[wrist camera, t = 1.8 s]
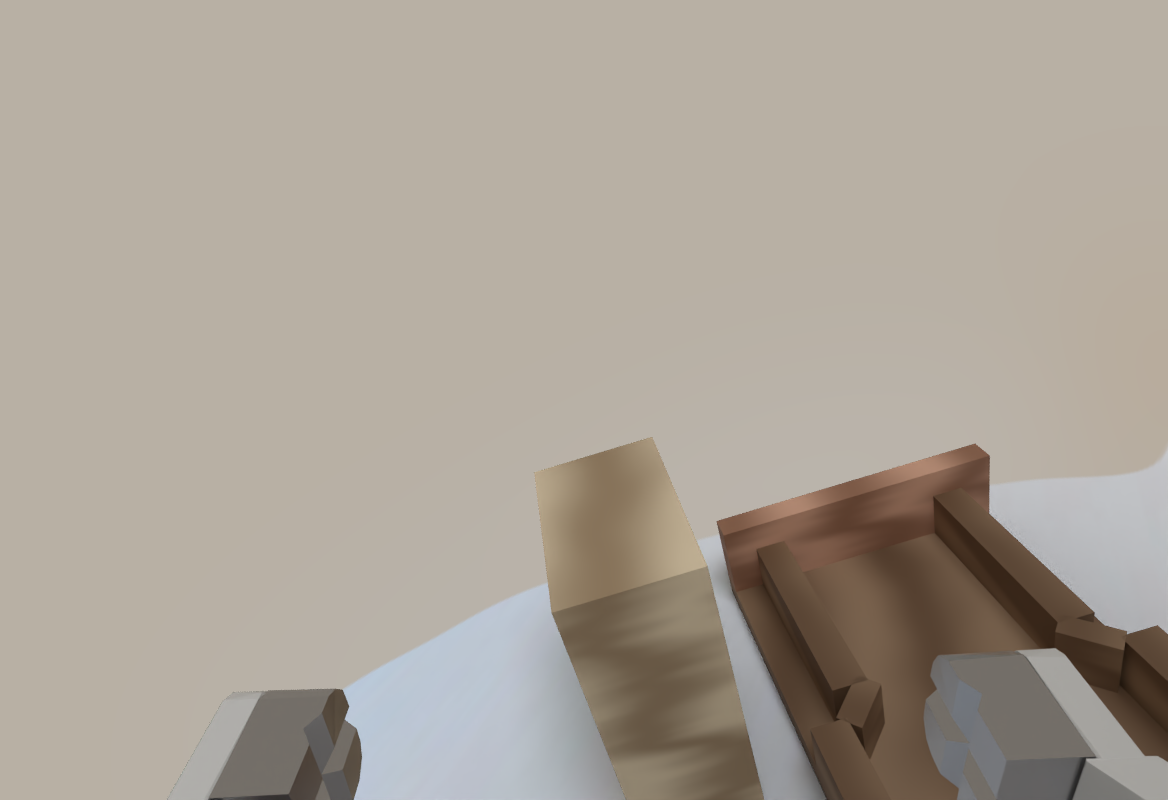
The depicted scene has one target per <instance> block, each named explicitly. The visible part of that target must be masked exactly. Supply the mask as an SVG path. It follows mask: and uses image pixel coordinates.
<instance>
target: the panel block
mask: <svg viewBox="0 0 1168 800" xmlns="http://www.w3.org/2000/svg"><path fill="white" fill-rule="evenodd" d="M535 482H536V490H537V498H538V506H539V514H540V522H541V530H542V538H543V546H544V554H545V562H546V571H547V579H548V587H549V595H550V603H551V611H552V615H553V617H554V620H555V622H556V625H557V627H558V630H559V632H560V635H561V637H562V640H563V642H564V645H565V647H566V650H567V652H568V655H569V657H570V660H571V662H572V665H573V667H574V670H575V672H576V675H577V677H578V680H579V682H580V685H581V687H582V690H583V693H584V695H585V698H586V700H587V703H588V705H589V708H590V710H591V713H592V715H593V718H594V720H595V723H596V725H597V728H598V730H599V733H600V735H601V738H602V740H603V743H604V745H605V748H606V750H607V753H608V755H609V758H610V760H611V763H612V765H613V768H614V770H615V773H616V775H617V778H618V780H619V783H620V785H621V788H622V790H623V793H624V795H625V798H626V800H764V797H763V793H762V789H761V785H760V781H759V777H758V773H757V769H756V764H755V760H754V756H753V752H752V748H751V744H750V740H749V736H748V731H747V727H746V723H745V719H744V715H743V711H742V707H741V703H740V699H739V694H738V690H737V686H736V682H735V678H734V674H733V670H732V666H731V661H730V657H729V653H728V649H727V645H726V641H725V637H724V633H723V629H722V624H721V620H720V616H719V612H718V608H717V604H716V600H715V596H714V591H713V587H712V583H711V579H710V575H709V571H708V567H707V564H706V562H705V560H704V557H703V555H702V553H701V550H700V548H699V546H698V543H697V541H696V539H695V537H694V534H693V532H692V529H691V527H690V525H689V522H688V520H687V518H686V515H685V513H684V510H683V508H682V506H681V503H680V501H679V499H678V496H677V494H676V492H675V489H674V487H673V485H672V482H671V480H670V478H669V476H668V473H667V471H666V469H665V466H664V464H663V462H662V459H661V457H660V455H659V452H658V450H657V448H656V445H655V443H654V441H653V438H652V437H650V438H647V439H644V440H640V441H637V442H634V443H631V444H627V445H624V446H620V447H617V448H614V449H611V450H607V451H604V452H601V453H597V454H594V455H591V456H587V457H584V458H581V459H577V460H574V461H571V462H567V463H564V464H561V465H557V466H554V467H551V468H548V469H544V470H541V471H538V472H535Z"/></svg>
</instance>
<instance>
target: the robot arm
mask: <svg viewBox="0 0 1168 800" xmlns="http://www.w3.org/2000/svg"><path fill="white" fill-rule="evenodd" d="M930 676H931V678H932V680H933V682H934V684H935V686H936V688H937V690H936V691H935V692H933V693H932V694H931V695H930V696H929V697H928V698H927V699H926V702H925V710H924V717H923V718H924V725H925V733H926V739H927V742H928V746H929V749H930V752H931V755H932V757H933V759H934V762H935V764H936V766H937V768H938V770H939V772H940V774H941V775H943V776H944V777H945V778H946V779H948V780H949V781H950V782H952V783H953V784H954V785H955V786H957V787H958V788H959V792H958V797H957V800H1168V762H1167V761H1165V760H1164V759H1162V758H1160V757H1159V756H1144V754H1143V753H1142V752H1141V751H1140V749H1139V748H1138V747H1137V745H1136V744H1135V743H1134V742H1133V740H1132V739H1131V738H1130V737H1129V735H1128V734H1127V733H1126V732H1125V730H1124V729H1123V728H1122V726H1121V725H1120V724H1119V723H1118V721H1117V720H1116V719H1115V718H1114V716H1113V715H1112V714H1111V712H1110V711H1109V710H1108V709H1107V707H1106V706H1105V705H1104V704H1103V702H1102V701H1101V700H1100V699H1099V697H1098V696H1097V695H1096V693H1095V692H1094V691H1093V690H1092V688H1091V687H1090V686H1089V685H1088V683H1087V682H1086V681H1085V679H1084V678H1083V677H1082V676H1081V674H1080V673H1079V672H1078V671H1077V669H1076V668H1075V667H1074V666H1073V664H1072V663H1071V662H1070V660H1069V659H1068V658H1067V657H1066V655H1065V654H1063V653H1062V652H1060V651H1059V650H1057V649H1056V648H1051V649H1034V650H1017V651H1014V652H1013V651H995V652H980V653H965V654H950V655H938V656H937V658H936V659H935V660H934V661H933V664H932V669H931V674H930ZM348 708H349V705H348V702H347V700H346V697H345V695H344V692H343V690H340V689H313V690H312V689H310V690H274V691H256V692H233V693H232V694H231V695H229V696H228V697H227V698H226V699H225V700H224V701H223V702H222V703H221V705H220V707H219V708H218V710H217V712H216V714H215V715H214V717H213V719H212V721H211V723H210V724H209V726H208V728H207V730H206V731H205V733H204V735H203V737H202V738H201V740H200V742H199V744H198V745H197V747H196V749H195V751H194V753H193V754H192V756H191V758H190V760H189V762H188V763H187V765H186V767H185V768H184V771H183V772H182V774H181V775H180V777H179V779H178V781H177V783H176V784H175V786H174V788H173V790H172V791H171V793H170V795H169V797H168V798H167V800H354V796H355V793H356V790H357V786H358V783H359V779H360V770H361V760H362V754H361V743H360V739H359V735H358V732H357V729H356V728H355V727H354V726H352V725H351V724H350V723H348V722H347V721H345V720H344V719H345V716H346V714H347V711H348Z"/></svg>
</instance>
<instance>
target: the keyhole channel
mask: <svg viewBox="0 0 1168 800" xmlns="http://www.w3.org/2000/svg"><path fill="white" fill-rule="evenodd" d="M989 464H990V456H989V455H988V454H987V453H986V452H984V451H983V450H982V449H981V448H980V447H978V446H977V445H976V444H972V445H969V446H966V447H962V448H959V449H956V450H953V451H949V452H946V453H942V454H939V455H936V456H932V457H929V458H926V459H922V460H919V461H916V462H912V463H909V464H906V465H903V466H899V467H896V468H892V469H889V470H886V471H882V472H879V473H876V474H873V475H869V476H866V477H863V478H859V479H856V480H852V481H849V482H846V483H842V484H839V485H836V486H832V487H829V488H826V489H822V490H819V491H816V492H813V493H809V494H806V495H802V496H799V497H796V498H792V499H789V500H786V501H782V502H780V503H776V504H772V505H769V506H766V507H763V508H759V509H756V510H753V511H749V512H746V513H742V514H739V515H736V516H732V517H729V518H726V519H723V520H719V521H717V525H718V529H719V534H720V539H721V543H722V547H723V552H724V556H725V561H726V565H727V570H728V574H729V579H730V583H731V587H732V591H733V593H734V595H735V598H736V600H737V602H738V604H739V606H740V609H741V611H742V613H743V615H744V617H745V620H746V622H747V624H748V626H749V628H750V631H751V633H752V635H753V637H754V639H755V642H756V644H757V646H758V648H759V650H760V653H761V655H762V657H763V659H764V661H765V664H766V666H767V668H768V670H769V672H770V675H771V677H772V679H773V681H774V683H775V686H776V688H777V690H778V692H779V694H780V697H781V699H782V701H783V703H784V705H785V708H786V710H787V712H788V714H789V716H790V719H791V721H792V723H793V725H794V727H795V730H796V732H797V734H798V736H799V738H800V741H801V743H802V745H803V747H804V749H805V752H806V754H807V756H808V758H809V760H810V763H811V765H812V767H813V769H814V771H815V774H816V776H817V778H818V780H819V782H820V785H821V787H822V789H823V791H824V793H825V796H826V798H827V800H957V797H958V792H959V788H958V787H957V786H955V785H954V784H953V783H952V782H950V781H949V780H948V779H946V778H945V777H944V776H943V775H941V774H940V772H939V770H938V768H937V766H936V764H935V762H934V759H933V757H932V755H931V752H930V749H929V746H928V742H927V739H926V733H925V725H924V718H923V717H924V710H925V702H926V699H927V698H928V697H929V696H930V695H931V694H932V693H933V692H935V691H936V690H937V688H936V686H935V684H934V682H933V680H932V678H931V676H930V674H931V669H932V664H933V661H934V660H935V659H936V658H937V656H938V655H950V654H965V653H980V652H995V651H1013V652H1014V651H1017V650H1034V649H1051V648H1056V649H1057V650H1059V651H1060V652H1062V653H1063V654H1065V655H1066V657H1067V658H1068V659H1069V660H1070V662H1071V663H1072V664H1073V666H1074V667H1075V668H1076V669H1077V671H1078V672H1079V673H1080V674H1081V676H1082V677H1083V678H1084V679H1085V681H1086V682H1087V683H1088V685H1089V686H1090V687H1091V688H1092V690H1093V691H1094V692H1095V693H1096V695H1097V696H1098V697H1099V699H1100V700H1101V701H1102V702H1103V704H1104V705H1105V706H1106V707H1107V709H1108V710H1109V711H1110V712H1111V714H1112V715H1113V716H1114V718H1115V719H1116V720H1117V721H1118V723H1119V724H1120V725H1121V726H1122V728H1123V729H1124V730H1125V732H1126V733H1127V734H1128V735H1129V737H1130V738H1131V739H1132V740H1133V742H1134V743H1135V744H1136V745H1137V747H1138V748H1139V749H1140V751H1141V752H1142V753H1143V754H1144V756H1159V757H1160V758H1162V759H1164V760H1165V761H1167V762H1168V634H1167V633H1166V632H1164V631H1163V630H1162V629H1161V628H1160V627H1159V626H1158V625H1157V626H1154V627H1151V628H1147V629H1144V630H1140V631H1137V632H1134V633H1130V634H1127V631H1124V630H1120V629H1116V628H1112V627H1108V626H1105V625H1103V624H1102V623H1101V622H1100V621H1099V620H1098V619H1097V618H1096V617H1095V616H1094V613H1095V612H1093V611H1092V610H1091V609H1090V608H1089V607H1088V606H1087V605H1086V604H1085V603H1084V602H1083V601H1082V600H1081V599H1080V598H1079V597H1077V596H1076V595H1075V594H1074V593H1073V592H1072V591H1071V590H1070V589H1069V588H1068V587H1067V586H1066V585H1065V584H1064V583H1063V582H1061V581H1060V580H1059V579H1058V578H1057V577H1056V576H1055V575H1054V574H1053V573H1052V572H1051V571H1050V570H1049V569H1048V568H1047V567H1045V566H1044V565H1043V564H1042V563H1041V562H1040V561H1039V560H1038V559H1037V558H1036V557H1035V556H1034V555H1033V554H1032V553H1031V552H1029V551H1028V550H1027V549H1026V548H1025V547H1024V546H1023V545H1022V544H1021V543H1020V542H1019V541H1018V540H1017V539H1016V538H1015V537H1013V536H1012V535H1011V534H1010V533H1009V532H1008V531H1007V530H1006V529H1005V528H1004V527H1003V526H1002V525H1001V524H1000V523H999V522H997V521H996V520H995V519H994V518H993V517H992V516H991V515H990V514H989V467H990V465H989Z"/></svg>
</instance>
